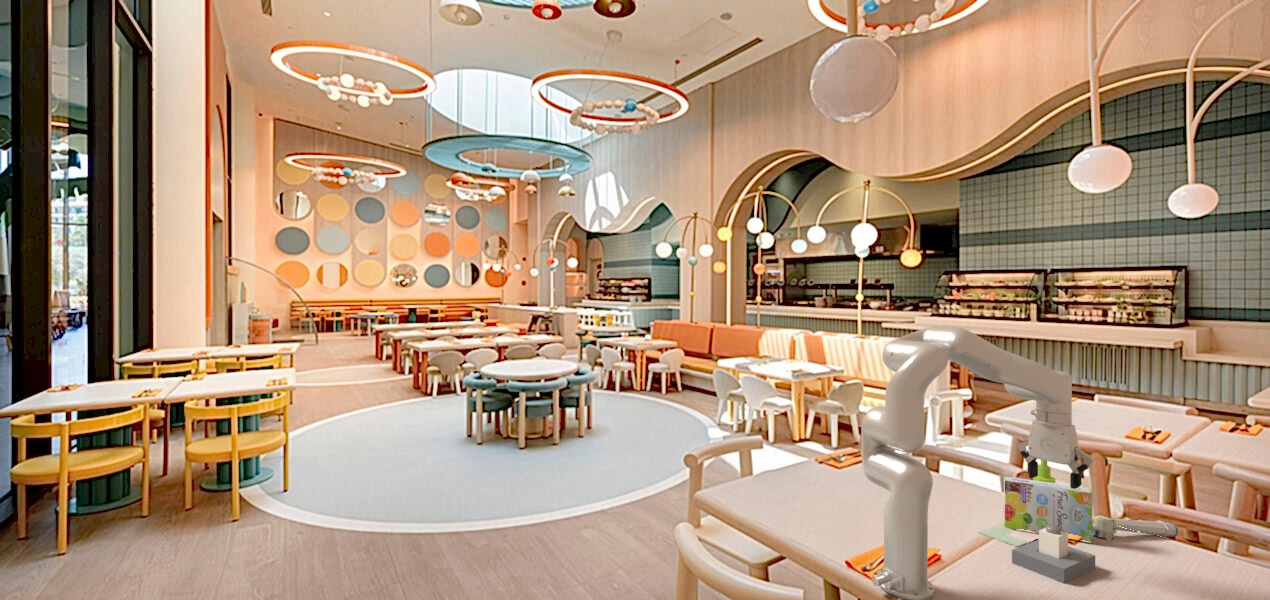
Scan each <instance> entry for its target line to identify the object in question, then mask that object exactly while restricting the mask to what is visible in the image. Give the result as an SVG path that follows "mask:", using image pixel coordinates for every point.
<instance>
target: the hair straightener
mask: <svg viewBox="0 0 1270 600" xmlns="http://www.w3.org/2000/svg"><path fill="white" fill-rule="evenodd" d="M1117 525H1118V526H1117ZM1119 526H1121V527H1119ZM1122 527H1124V528H1122ZM1125 528H1127V529H1125ZM1130 529H1131V530H1130ZM1133 530H1134V531H1133ZM1117 531H1122V532H1131V533H1137V531H1140V532H1141V533H1140V534H1145V533H1146V534H1145V535H1154V536H1160V537H1162V538H1164V537H1168V538H1169V537H1171V538H1172V537H1177V536H1178V535H1179V529H1178V528H1177V526H1176V524H1174V523H1171V522H1165V521H1163V520H1159V519H1157V521H1156V520H1155V521H1154V520H1138V519H1126V518H1125V519H1122V518H1110V517H1107V516H1104V515H1096V516H1095V517H1094V521H1093V523H1092V534H1093V535H1092V536H1094V535H1095V536H1094V537H1096V536H1097V538H1099V537H1101V538H1104V539H1105V538H1106V539H1105V540H1107V539H1111V540H1112V538H1113V539H1114V537H1115V534H1116V533H1117Z"/></svg>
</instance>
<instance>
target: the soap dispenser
mask: <svg viewBox="0 0 1270 600" xmlns="http://www.w3.org/2000/svg"><path fill="white" fill-rule="evenodd" d="M1032 480H1035V481H1042V482H1049V483H1056V478H1054V477H1053V476H1051V466H1049V465H1048V461H1046V460H1041V459H1040V464H1038V476H1037V477H1034V478H1032Z"/></svg>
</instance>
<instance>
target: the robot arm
mask: <svg viewBox="0 0 1270 600" xmlns="http://www.w3.org/2000/svg"><path fill="white" fill-rule="evenodd" d="M949 361H951V362H954V363H955V364H957V365H959V366H961V367H963V368H965V369H967V370H968V371H970V372H972V373H973V374H975V375H977V376H979V377H981V378H984V379H987V380H989V381H991V382H995V383H1000V384H1003V386H1004V388H1005V390H1006V392H1007V393H1008V394H1010V395H1011V396H1012V397H1016V398H1018V399H1023V400H1029V401H1033V402H1034V401H1035V409H1031V410H1030V414H1031V415H1032V416H1035V419H1033V420H1032V421H1031V424H1030V430H1029V434H1028V435H1029V436H1028V440H1026V441H1022V442H1019V443H1017V444H1016V446H1017V449H1018V450H1019V452H1020V455H1021V456H1022V457H1023V458H1024V459H1025V462H1027V473H1028V478H1031V479H1033V478H1034V477H1037V476H1038V465H1039V463H1038V462H1037V460H1040V461H1041V460H1046V461H1047V462H1050V463H1055V464H1059V465H1065V466H1066V465H1067V466H1068V467H1069V468H1070V470H1071V471H1072V472H1071V473H1070V479H1069V480H1070V487H1071V488H1073V489H1075V488H1078V487H1081V486H1082V473H1084V472H1085V471H1087V470H1088V469H1089V468H1090V467H1091V466H1092V464H1093V463H1094V461H1095V458H1094V457H1092V456H1091V455H1090V454H1087V453H1086V452H1084V451H1083V450H1081V449H1080V448H1079V441H1078V440H1079V439H1078V433H1077V430H1076V427H1075V424H1073V423H1072V421H1073V420H1072V419H1073V415H1072V414H1073V412H1072V409H1073V401H1072V399H1073V398H1072V397H1073V393H1072V392H1073V388H1072V387H1073V385H1072V384H1073V383H1072V381H1073V378H1072V375H1071V374H1070V373H1069V372H1066V371H1064V370H1063V371H1062V370H1055V369H1053V368H1050V367H1048V366H1046V365H1044V364H1042V363H1041V362H1040V363H1039V362H1037V361H1035V360H1032V359H1029V358H1026V357H1023V356H1021V355H1018V354H1016V353H1013V352H1010V351H1008V350H1004V349H1002V348H1001V347H998V346H997V345H995V344H993V343H991V342H989V341H988V340H986V339H984V338H982V337H980V336H978V335H977V334H976V333H974V332H972V331H970V330H968V329H966V328H963V327H958V326H956V327H955V326H939V325H938V326H937V325H935V326H928V327H925V328H923V329H919V330H916V331H913V332H911V333H908V334H906V335H903V336H899V337H897V338H894V339H893V340H891V341H889V342H888V343H887V344H886V345H885V346H884V348H883V350H882V362H883V363H884V365H885V367H886V368H887V369H889V370H891V371H892V372H894V373H893V375H892V376H891V377H890V379H889V381H888V383H887V385H886V387H885V388H886V389H885V397H884V398H885V401H884V402H885V403H884V404H885V405H884V406H882V405H881V406H880V405H879V406H874V407H872V408H870V409H869V410H867V412H866V414H864V417H863V419H862V421H861V422H862V423H861V429H860V430H861V431H860V433H861V436H860V437H861V462H862V470H863V472H864V475H865V477H866V478H867V479H868V480H869V481H870V482H871V483H873V484H875V485H877V486H878V487H880V488H882V489H885V490H887V491H889V492H890V496H889V499H888V500H887V501H886V504H885V505H884V513H883V522H884V523H883V567H881V571H880V572H879V573H878V574H877V575H876V576H874V577H872V578H871V582H872V585H873V586H875V587H880V588H881V589H882V590H883V591H885V592H887V593H888V594H891V595H893V596H895V597H898V598H901V599H904V598H905V599H904V600H930V599H931V598H933V597H934V596H935V592H936V591H935V590H936V588H935V586H934V584H933V583H932V582H931V581H930V580H928V551H929V550H928V542H929V541H928V540H929V539H928V538H929V537H928V533H929V532H928V530H929V529H928V527H929V526H928V522H929V521H928V520H929V517H928V516H929V515H928V513H929V504H930V498H931V493H932V490H933V485H934V482H933V479H934V478H933V474H932V473H931V471H930V469H929V468H928V467H927V466H926V465H925V464H924V463H922V462H921V461H919V460H918V459H915V458H913V457H910V456H908V455H905V454H902V453H908V454H912V453H913V454H914V453H917V452H918V451H920V450H921V449H922V448H923V447H924V443H925V407H924V406H925V394H926V391H927V390H928V388H929V386H930V385H931V383H932V382H933V381H934V380H935V379H937V377H938V376H940V375H941V374H942V373H943V372H944V371H945V369H946V368H947V366H948V363H949ZM1026 447H1027V448H1026ZM896 451H900V452H902V453H899V452H896ZM1079 459H1082V460H1083V463H1082V464H1080V463H1079ZM933 595H934V596H933ZM932 596H933V597H932Z"/></svg>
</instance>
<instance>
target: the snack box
mask: <svg viewBox="0 0 1270 600" xmlns="http://www.w3.org/2000/svg"><path fill="white" fill-rule="evenodd" d="M1003 523H1004V527H1007V528H1009V529H1012V530H1014V529H1024V530H1034V531H1039V530H1041V529H1044V528H1046V525H1054V526H1057V527H1060V528H1061V531H1062V532H1065V533H1068V534H1073V535H1078V536H1081V537H1082V539H1083V540H1085V541H1089V542H1092V543H1093V535H1092V524H1093V492H1092V491H1091V489H1090V488H1089V487H1084V486H1080V487H1078V488H1075V489H1073V488H1071V487H1070V485H1069V484H1063V483H1057V482H1055V483H1049V482H1042V481H1035V480H1033V479H1028V478H1021V477H1012V476H1003Z"/></svg>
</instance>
